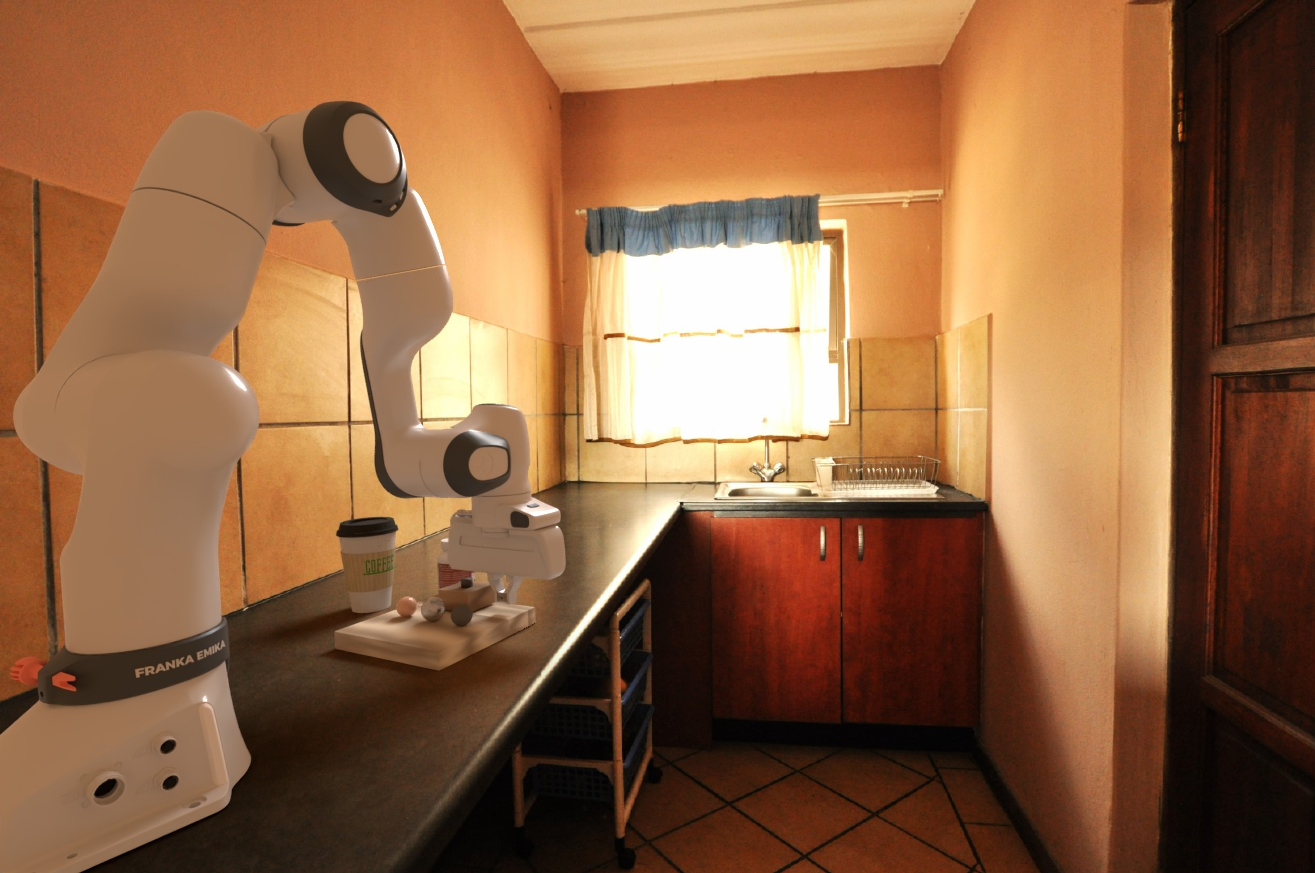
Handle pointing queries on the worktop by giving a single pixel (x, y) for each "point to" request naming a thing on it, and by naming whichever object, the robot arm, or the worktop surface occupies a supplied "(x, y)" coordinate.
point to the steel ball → (433, 609)
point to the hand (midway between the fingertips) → (505, 602)
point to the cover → (467, 594)
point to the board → (433, 635)
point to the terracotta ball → (406, 606)
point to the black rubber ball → (461, 615)
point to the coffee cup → (368, 561)
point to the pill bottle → (449, 569)
